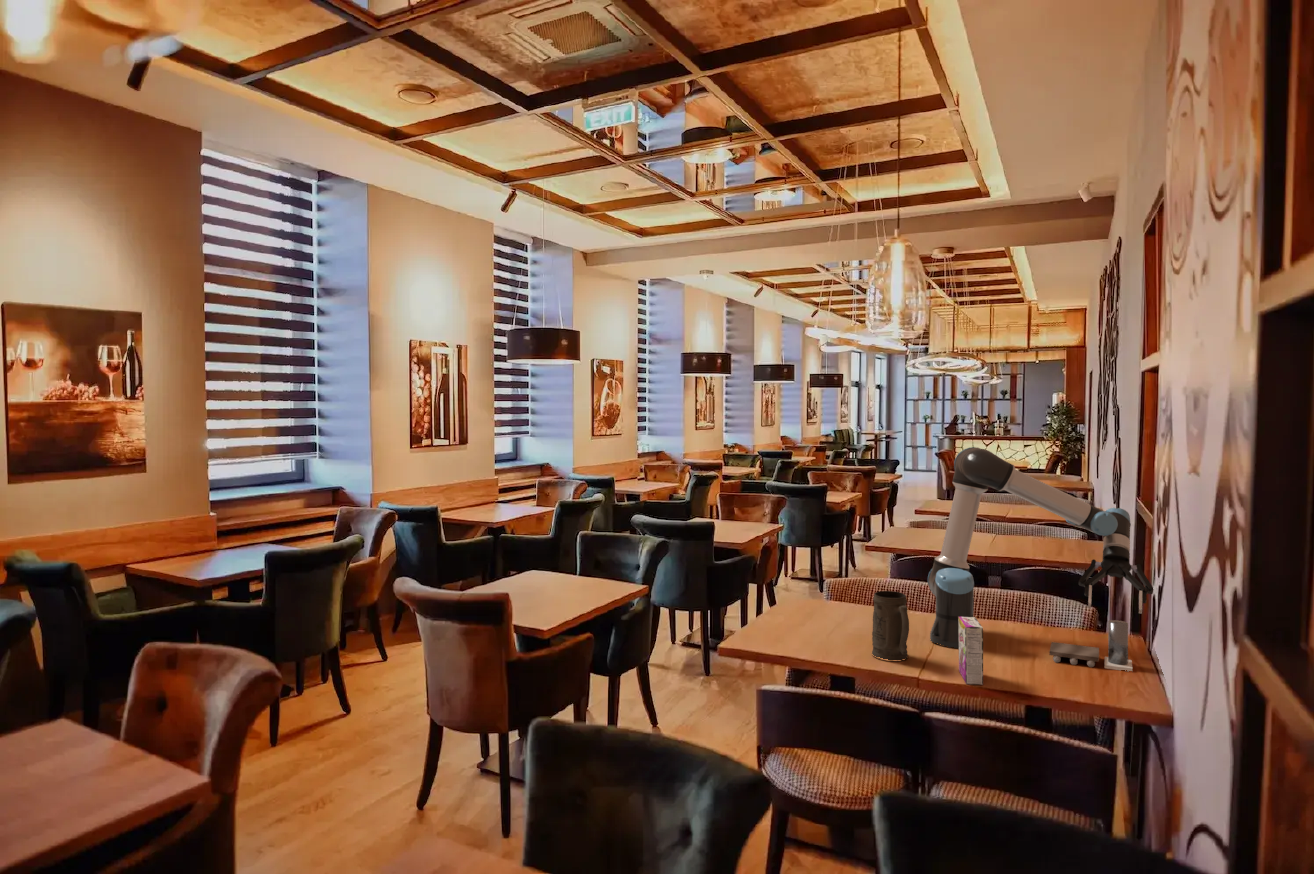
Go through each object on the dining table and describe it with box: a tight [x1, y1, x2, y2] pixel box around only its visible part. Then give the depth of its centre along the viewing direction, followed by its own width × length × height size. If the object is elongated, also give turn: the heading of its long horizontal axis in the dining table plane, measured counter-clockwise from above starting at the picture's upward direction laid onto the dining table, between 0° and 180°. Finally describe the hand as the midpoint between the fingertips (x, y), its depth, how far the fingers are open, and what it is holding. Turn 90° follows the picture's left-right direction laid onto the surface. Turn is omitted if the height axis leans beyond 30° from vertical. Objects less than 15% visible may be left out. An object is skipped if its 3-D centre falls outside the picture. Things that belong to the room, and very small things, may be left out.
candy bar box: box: [958, 616, 984, 686], centre depth 220 cm, size 11×5×16 cm, turn 168°
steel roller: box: [1107, 619, 1129, 665], centre depth 230 cm, size 5×5×12 cm
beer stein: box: [871, 590, 910, 660], centre depth 238 cm, size 15×11×20 cm
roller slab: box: [1048, 641, 1100, 668], centre depth 236 cm, size 13×11×3 cm
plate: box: [1104, 656, 1133, 672], centre depth 230 cm, size 7×9×1 cm
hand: (1114, 608), depth 240 cm, fingers open, 13 cm apart
